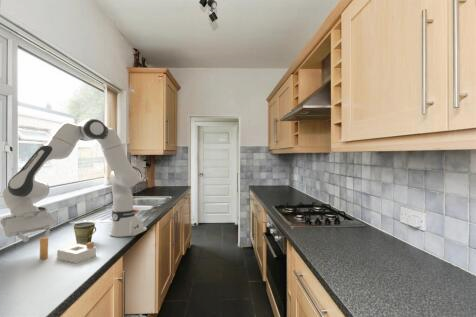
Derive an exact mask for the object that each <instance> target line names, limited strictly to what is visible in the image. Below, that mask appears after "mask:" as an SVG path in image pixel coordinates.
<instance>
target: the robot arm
mask: <svg viewBox="0 0 476 317" xmlns="http://www.w3.org/2000/svg"><path fill="white" fill-rule="evenodd" d="M95 140H96V141H97V142H98V143H99V145H100V147H101V150H102V153H103V155H104V158H105V161H106V163H107V165H108V166H109V168H110V169H111V172H110V174H109V180H110V184H111V185H110V186H111V192H112V209H111V210H112V211H111V218H112V219H111V224H110V226H111V227H110V230H109V236H111V237H117V238H119V237H120V238H121V237H122V238H123V237H134V236H136V235H139V234H142V233H144V232H145V231H147V230H148V229H147V227H145V226H144V223H143V222H144V221H143V220H142V219H141V218H140V217H138V216H137V215H136V213H138V212H139V210H138V209H136V208H135V209H134V195H133V193H132V192H133V191H132V189H131V188H133V187H135V186H136V185H137V184H138V182H139V175H138V173H137V172H136V171H135V170H134V168H133V165H132V164H131V162H130V160H129V158H128V156H127V154H126V151H125V149H124V145H123V143H122V141H121V138H120V137H119V134H118V132H117V130H115V129H114V128H112V127H107V125H105V124H104V123H103V122H102V121H101V120H99V119H96V118H91V119H85V120H83V121H82V122H79V123H77V124H75V123H74V122H73V123H72V122H64V123H62V124H61V125H60V126H59V127H58V128H57V129H56V131H55V132H53V135H52V136H51V138H50V139H49V140H48V142H47V143H45V144H44V145H41V146H40V147H39V148H37V150H36V151H35V152H34V153H33V154H32V156H30V158H29V159H28V160H27V161H26V163H25V164H24V165H23V166H22V168H21V169H20V170H18V172H17V173H16V174H15V175H13V176H12V177H11V178H10V179H9V181H8V184H7V186H6V187H5V188H4V189H3V191H2V197H3V198H2V199H3V201H4V203H5V205H6V207H7V209H9V210H10V214H11V215H10V216H8V217H7V216H6V217H3V218H2V219H1V220H0V224H1V226H2V227H3V232H4V234H5V236H6V237H8V238H11V237H16V236H17V238H19V239H21V240H22V241H23V242H24V243H27V242H29V240H30V238H29V236H28V235H24V234H29V233H34V232H38V231H43V230H44V231H46V232H45V233H44V236H45V237H50V236H52V235H51V234H52V233H51V229H52V228H54V227H55V226H56V223H57V220H56V219H55V217H54V215H53V214H52V213H51V212H50V211H49V208H48V207H47V206H39V205H34V204H36V203H38V202H40V201H42V200H43V199H45V198H46V197H47V196H48V195H49V193H50V186H49V184H48V183H47V182H45V181H42V180H40V179H38V178H35V177H36V175H37V174H38V173H39V171H40V170H41V169H42V167H43V166H44V165H45V164H46V163H47V162H49V161H50V160H63V159H66V158H68V157H69V156H70V155H71V154H72V152H73V151H74V149H75V147H76V145H77V143H78V142H79V141H86V142H87V141H88V142H89V141H95Z"/></svg>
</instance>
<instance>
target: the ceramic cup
mask: <svg viewBox="0 0 476 317" xmlns="http://www.w3.org/2000/svg"><path fill="white" fill-rule="evenodd" d="M95 225H96V223H95V222H92V221H84V222H83V221H82V222H78V223H74V224H73V232H74V234H75V240H76V244H82V245H87V243H89V242H92V238H93V235H94V233H95V232H97V228H96V226H95Z"/></svg>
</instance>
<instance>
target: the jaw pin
mask: <svg viewBox="0 0 476 317" xmlns="http://www.w3.org/2000/svg"><path fill="white" fill-rule="evenodd" d="M48 258H49V236H47V237H46V236H43V237H40V239H39V260H47V259H48Z"/></svg>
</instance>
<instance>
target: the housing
mask: <svg viewBox="0 0 476 317" xmlns="http://www.w3.org/2000/svg"><path fill="white" fill-rule="evenodd" d="M56 256H57V257H56V258H57V260H60V261H64V260H65V261H64V262H68V261H69V262H70V263H74V264H79V263H81V262H84V261H86V260H88V259H89V260H90V259H91V257H92V258H94V257H96V256H97V247H96V246H94V242H93V241H91V242H89V243H87V244H86V245H82V244H77V243H75V244H72V245H68V246H66V247H65V246H64V247H63V248H59V249H57V254H56ZM69 262H68V263H69Z"/></svg>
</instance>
